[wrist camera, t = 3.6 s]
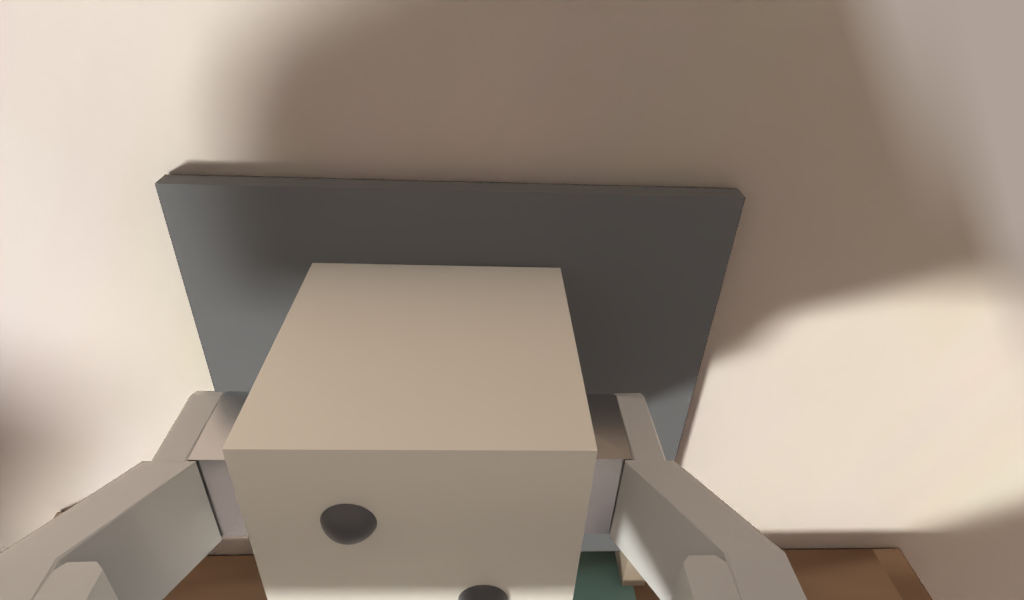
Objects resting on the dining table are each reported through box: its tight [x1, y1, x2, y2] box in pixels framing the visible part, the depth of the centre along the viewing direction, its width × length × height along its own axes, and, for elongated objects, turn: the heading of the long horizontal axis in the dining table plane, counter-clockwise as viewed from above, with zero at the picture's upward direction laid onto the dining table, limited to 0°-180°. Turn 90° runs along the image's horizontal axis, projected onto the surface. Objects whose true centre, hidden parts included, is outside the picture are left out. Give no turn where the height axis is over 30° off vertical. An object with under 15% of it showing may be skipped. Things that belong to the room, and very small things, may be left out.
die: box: [222, 263, 598, 600], centre depth 10 cm, size 5×5×5 cm
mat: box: [155, 175, 745, 551], centre depth 13 cm, size 10×10×1 cm
